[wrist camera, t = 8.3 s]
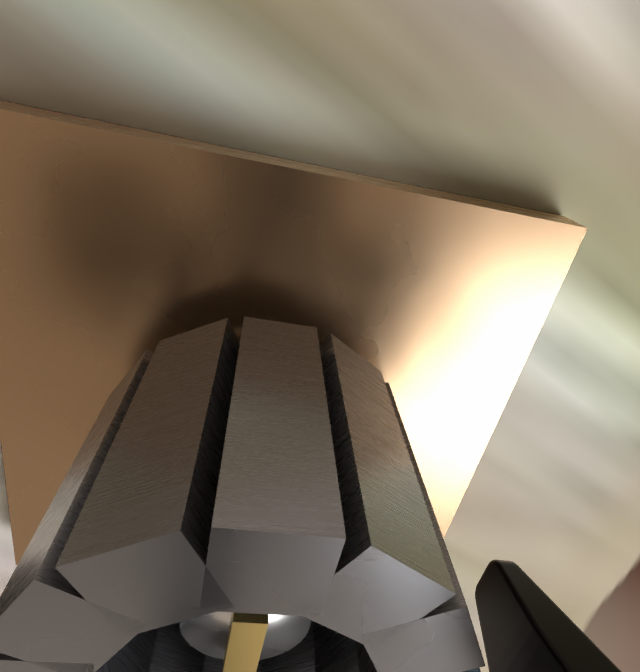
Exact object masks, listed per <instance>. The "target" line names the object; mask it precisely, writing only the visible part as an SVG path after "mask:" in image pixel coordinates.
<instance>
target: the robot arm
mask: <svg viewBox="0 0 640 672" xmlns="http://www.w3.org/2000/svg"><path fill="white" fill-rule="evenodd" d="M475 599H476V605H477V610H478V615H479V620H480V626H481V631H482V636H483V641H484V646H485V652H486V657H487V662H488V667H489V672H621V671H620V670H619V669H618V668H617V667H616V666H615V664H614V663H613V662H612V661H611V660H610V659H609V658H608V657H607V656H606V655H605V654H604V653H603V652H602V651H601V650H600V649H599V648H598V647H597V646H596V645H595V644H594V643H593V642H592V641H591V640H590V639H589V638H588V637H587V636H586V635H585V634H584V633H583V632H582V631H581V630H580V629H579V628H578V627H577V626H576V625H575V624H574V623H573V622H572V620H571V619H570V618H569V617H568V616H567V615H566V614H565V613H564V612H563V611H562V610H561V609H560V608H559V607H558V606H557V605H556V604H555V603H554V602H553V601H552V600H551V599H550V598H549V597H548V596H547V595H546V594H545V593H544V592H543V591H542V590H541V589H540V588H539V587H538V586H537V585H536V584H535V583H534V582H533V581H532V580H531V579H530V578H529V577H528V576H527V574H526V573H525V572H524V571H523V570H522V569H521V568H520V567H519V566H518V565H516V564H515V563H514V562H511V561H504V560H492V561H491V562H490V563H489V564H488V566H487V568H486V570H485V571H484V573H483V575H482V577H481V579H480V581H479V582H478V584H477V587H476V591H475Z"/></svg>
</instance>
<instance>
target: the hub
mask: <svg viewBox="0 0 640 672" xmlns="http://www.w3.org/2000/svg"><path fill="white" fill-rule="evenodd" d="M214 612H235V613H253V614H271V615H289V616H303V617H306V618H308V619H310V620H311V623H310V628H309V630H308V633H307V634H306V636H305V637H304V638H303V639H302V641H301V642H300V643H298V644H297V645H296V646H295V647H293V648H292V649H290V650H288V651H286V652H284V653H282V654H280V655H277V656H274V657H271V658H267V659H263V660H259V663H258V666H257V670H256V672H481V671H480V668H479V667H483V666H485V663H484V660H483V657H482V654H481V650H480V647H479V644H478V641H477V637H476V634H475V631H474V627H473V624H472V621H471V618H470V614H469V611H468V608H467V605H466V602H465V599H464V596H463V593H462V591H461V588H460V585H459V582H458V579H457V576H456V573H455V571H454V568H453V565H452V562H451V559H450V556H449V553H448V551H447V548H446V545H445V542H444V539H443V536H442V533H441V531H440V528H439V525H438V522H437V519H436V516H435V513H434V511H433V508H432V505H431V502H430V499H429V496H428V493H427V490H426V488H425V485H424V482H423V479H422V476H421V473H420V470H419V468H418V465H417V462H416V459H415V456H414V453H413V450H412V448H411V445H410V442H409V439H408V436H407V433H406V430H405V428H404V425H403V422H402V419H401V416H400V413H399V410H398V408H397V405H396V402H395V399H394V396H393V393H392V390H391V388H390V385H389V382H386V383H385V382H384V379H383V376H382V373H381V371H380V370H378V369H377V368H376V367H375V366H373V365H372V364H371V363H369V362H368V361H367V360H365V359H364V358H363V357H361V356H360V355H359V354H357V353H356V352H355V351H354V350H352V349H351V348H350V347H348V346H347V345H346V344H344V343H343V342H342V341H340V340H339V339H338V338H336V337H335V336H334V335H333V334H331V333H330V334H329V335H328V337H327V338H326V339H325V340H324V341H323V342H322V343H321V344H320V345H319V341H318V333H317V327H311V326H305V325H298V324H291V323H285V322H278V321H271V320H265V319H258V318H252V317H245V316H244V320H243V327H242V333H241V339H240V342H239V340H238V338H237V336H236V334H235V332H234V330H233V328H232V326H231V324H230V321H229V319H228V318H225V319H222V320H219V321H216V322H214V323H211V324H208V325H205V326H202V327H199V328H196V329H193V330H190V331H187V332H184V333H181V334H178V335H175V336H172V337H169V338H166V339H163V340H160V341H159V343H158V345H157V347H156V350H155V352H154V353H153V352H152V351H150V350H148V349H147V350H146V351H145V352H144V354H143V355H142V356H141V357H140V358H139V360H138V361H137V362H136V363H135V365H134V366H133V367H132V368H131V369H130V371H129V372H128V373H127V374H126V376H125V377H124V378H123V379H122V380H121V382H120V383H119V384H118V385H117V387H116V388H115V389H114V390H113V391H112V393H111V394H110V395H109V397H108V399H107V400H106V402H105V404H104V406H103V408H102V410H101V412H100V413H99V415H98V417H97V419H96V421H95V423H94V424H93V426H92V428H91V430H90V432H89V434H88V436H87V437H86V439H85V441H84V443H83V445H82V447H81V449H80V450H79V452H78V454H77V456H76V458H75V460H74V462H73V463H72V465H71V467H70V469H69V471H68V473H67V474H66V476H65V478H64V480H63V482H62V484H61V486H60V487H59V489H58V491H57V493H56V495H55V497H54V499H53V500H52V502H51V504H50V506H49V508H48V510H47V512H46V513H45V515H44V517H43V519H42V521H41V523H40V524H39V526H38V528H37V530H36V532H35V534H34V536H33V537H32V539H31V541H30V543H29V545H28V547H27V549H26V550H25V552H24V554H23V556H22V558H21V560H20V562H19V563H18V565H17V567H16V569H15V571H14V573H13V574H12V576H11V578H10V580H9V582H8V584H7V586H6V587H5V589H4V591H3V593H2V595H1V597H0V672H222V670H223V660H222V659H218V658H214V657H211V656H208V655H206V654H204V653H201V652H200V651H198V650H196V649H195V648H193V647H192V646H191V645H190V644H189V643H188V642H187V641H186V640H185V639H184V637H183V635H182V633H181V630H180V622H182V621H185V620H189V619H192V618H196V617H200V616H203V615H207V614H210V613H214Z"/></svg>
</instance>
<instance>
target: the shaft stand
mask: <svg viewBox="0 0 640 672" xmlns="http://www.w3.org/2000/svg"><path fill="white" fill-rule="evenodd" d="M586 231H587V228H586V227H584V226H582V225H580V224H578V223H576V222H574V221H572V220H570V219H568V218H566V217H564V216H561V215H556V214H551V213H546V212H541V211H536V210H531V209H526V208H522V207H517V206H512V205H507V204H502V203H497V202H492V201H488V200H483V199H478V198H473V197H468V196H463V195H458V194H453V193H449V192H444V191H439V190H434V189H429V188H424V187H419V186H414V185H410V184H405V183H400V182H395V181H390V180H385V179H380V178H376V177H371V176H366V175H361V174H356V173H351V172H346V171H341V170H337V169H332V168H327V167H322V166H317V165H312V164H307V163H302V162H298V161H293V160H288V159H283V158H278V157H273V156H268V155H263V154H259V153H254V152H249V151H244V150H239V149H234V148H229V147H225V146H220V145H215V144H210V143H205V142H200V141H195V140H190V139H186V138H181V137H176V136H171V135H166V134H161V133H156V132H151V131H147V130H142V129H137V128H132V127H127V126H122V125H117V124H112V123H108V122H103V121H98V120H93V119H88V118H83V117H78V116H74V115H69V114H64V113H59V112H54V111H49V110H44V109H39V108H35V107H30V106H25V105H20V104H15V103H10V102H5V101H0V440H1V448H2V456H3V465H4V473H5V481H6V489H7V497H8V505H9V513H10V521H11V529H12V537H13V545H14V553H15V561H16V565H18V563H19V562H20V560H21V558H22V556H23V554H24V552H25V550H26V549H27V547H28V545H29V543H30V541H31V539H32V537H33V536H34V534H35V532H36V530H37V528H38V526H39V524H40V523H41V521H42V519H43V517H44V515H45V513H46V512H47V510H48V508H49V506H50V504H51V502H52V500H53V499H54V497H55V495H56V493H57V491H58V489H59V487H60V486H61V484H62V482H63V480H64V478H65V476H66V474H67V473H68V471H69V469H70V467H71V465H72V463H73V462H74V460H75V458H76V456H77V454H78V452H79V450H80V449H81V447H82V445H83V443H84V441H85V439H86V437H87V436H88V434H89V432H90V430H91V428H92V426H93V424H94V423H95V421H96V419H97V417H98V415H99V413H100V412H101V410H102V408H103V406H104V404H105V402H106V400H107V399H108V397H109V395H110V394H111V393H112V391H113V390H114V389H115V388H116V387H117V385H118V384H119V383H120V382H121V380H122V379H123V378H124V377H125V376H126V374H127V373H128V372H129V371H130V369H131V368H132V367H133V366H134V365H135V363H136V362H137V361H138V360H139V358H140V357H141V356H142V355H143V354H144V352H145V351H146V350H147V349H148V350H150V351H152V352H153V353H154V352H155V350H156V347H157V345H158V343H159V341H160V340H163V339H166V338H169V337H172V336H175V335H178V334H181V333H184V332H187V331H190V330H193V329H196V328H199V327H202V326H205V325H208V324H211V323H214V322H216V321H219V320H222V319H225V318H228V319H229V321H230V324H231V326H232V328H233V330H234V332H235V334H236V336H237V338H238V340H239V342H240V339H241V333H242V327H243V320H244V316H245V317H252V318H258V319H265V320H271V321H278V322H285V323H291V324H298V325H305V326H311V327H317V333H318V341H319V345H320V344H321V343H322V342H323V341H324V340H325V339H326V338H327V337H328V335H329V334H330V333H331V334H333V335H334V336H335V337H336V338H338V339H339V340H340V341H342V342H343V343H344V344H346V345H347V346H348V347H350V348H351V349H352V350H354V351H355V352H356V353H357V354H359V355H360V356H361V357H363V358H364V359H365V360H367V361H368V362H369V363H371V364H372V365H373V366H375V367H376V368H377V369H378V370H380V371H381V373H382V376H383V379H384V382H385V383H386V382H389V385H390V388H391V390H392V393H393V396H394V399H395V402H396V405H397V408H398V410H399V413H400V416H401V419H402V422H403V425H404V428H405V430H406V433H407V436H408V439H409V442H410V445H411V448H412V450H413V453H414V456H415V459H416V462H417V465H418V468H419V470H420V473H421V476H422V479H423V482H424V485H425V488H426V490H427V493H428V496H429V499H430V502H431V505H432V508H433V511H434V513H435V516H436V519H437V522H438V525H439V528H440V531H441V533H442V536H443V538H444V536H445V534H446V532H447V530H448V527H449V525H450V523H451V521H452V519H453V517H454V514H455V512H456V510H457V508H458V506H459V504H460V502H461V499H462V497H463V495H464V493H465V491H466V489H467V487H468V484H469V482H470V480H471V478H472V476H473V474H474V471H475V469H476V467H477V465H478V463H479V461H480V459H481V456H482V454H483V452H484V450H485V448H486V446H487V443H488V441H489V439H490V437H491V435H492V433H493V431H494V428H495V426H496V424H497V422H498V420H499V418H500V416H501V413H502V411H503V409H504V407H505V405H506V403H507V400H508V398H509V396H510V394H511V392H512V390H513V388H514V385H515V383H516V381H517V379H518V377H519V375H520V373H521V370H522V368H523V366H524V364H525V362H526V360H527V357H528V355H529V353H530V351H531V349H532V347H533V345H534V342H535V340H536V338H537V336H538V334H539V332H540V329H541V327H542V325H543V323H544V321H545V319H546V317H547V314H548V312H549V310H550V308H551V306H552V304H553V302H554V299H555V297H556V295H557V293H558V291H559V289H560V286H561V284H562V282H563V280H564V278H565V276H566V274H567V271H568V269H569V267H570V265H571V263H572V261H573V258H574V256H575V254H576V252H577V250H578V248H579V246H580V243H581V241H582V239H583V237H584V235H585V233H586ZM310 623H311V620H310V619H308V618H306V617H303V616H289V615H271V614H253V613H235V612H214V613H210V614H207V615H203V616H200V617H196V618H192V619H189V620H185V621H182V622H180V630H181V633H182V635H183V637H184V639H185V640H186V641H187V642H188V643H189V644H190V645H191V646H192V647H193V648H195V649H196V650H198V651H200V652H201V653H204V654H206V655H208V656H211V657H214V658H218V659H222V660H223V670H222V672H256V670H257V666H258V663H259V660H263V659H267V658H271V657H274V656H277V655H280V654H282V653H284V652H286V651H288V650H290V649H292V648H293V647H295V646H296V645H297V644H298V643H300V642H301V641H302V639H303V638H304V637H305V636H306V634H307V633H308V630H309V628H310Z"/></svg>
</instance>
